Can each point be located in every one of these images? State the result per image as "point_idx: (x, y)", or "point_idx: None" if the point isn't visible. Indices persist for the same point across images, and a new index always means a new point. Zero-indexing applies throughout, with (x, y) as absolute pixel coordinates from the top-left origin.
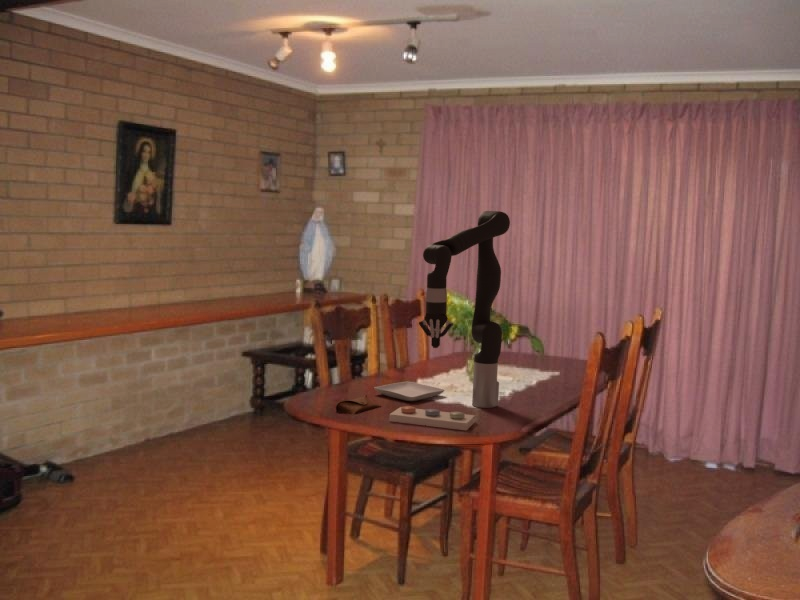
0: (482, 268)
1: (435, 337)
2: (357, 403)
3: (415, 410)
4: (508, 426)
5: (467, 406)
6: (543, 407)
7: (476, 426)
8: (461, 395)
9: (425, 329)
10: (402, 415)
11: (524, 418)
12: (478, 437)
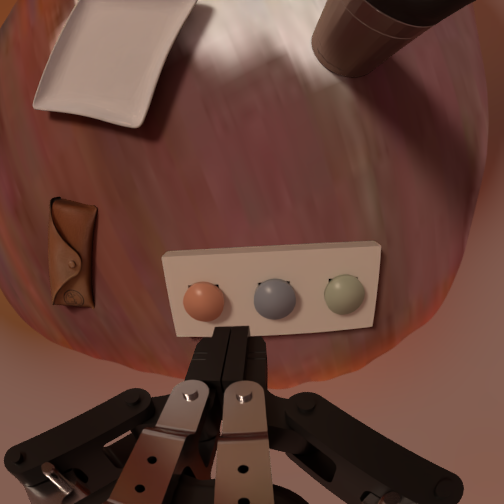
0: None
1: (218, 396)
2: (70, 277)
3: (223, 300)
4: (443, 238)
5: (307, 73)
6: (459, 34)
7: (383, 275)
8: None
9: (119, 470)
10: (208, 335)
11: (461, 148)
12: (393, 347)
